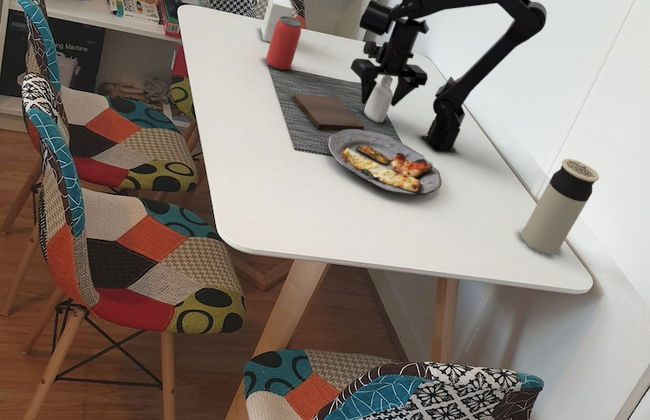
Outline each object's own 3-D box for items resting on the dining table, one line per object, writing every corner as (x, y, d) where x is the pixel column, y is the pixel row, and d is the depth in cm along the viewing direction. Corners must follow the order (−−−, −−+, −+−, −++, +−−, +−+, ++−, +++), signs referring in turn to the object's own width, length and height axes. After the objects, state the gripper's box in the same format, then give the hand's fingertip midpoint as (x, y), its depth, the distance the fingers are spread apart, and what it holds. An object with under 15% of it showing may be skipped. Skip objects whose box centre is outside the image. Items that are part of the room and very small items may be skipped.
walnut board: (362, 131, 169) (364, 126, 169) (318, 128, 163) (319, 124, 162) (335, 101, 179) (337, 97, 178) (292, 98, 173) (294, 93, 172)
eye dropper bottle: (366, 120, 175) (383, 75, 169) (362, 110, 180) (378, 65, 173) (383, 124, 176) (401, 79, 170) (379, 114, 181) (395, 69, 175)
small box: (282, 45, 200) (293, 8, 195) (262, 40, 199) (272, 3, 193) (280, 34, 207) (290, -2, 201) (260, 29, 205) (270, -7, 200)
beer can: (261, 58, 188) (273, 13, 182) (284, 60, 191) (297, 17, 185) (270, 69, 183) (283, 24, 177) (294, 72, 186) (307, 27, 180)
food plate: (452, 180, 162) (459, 167, 160) (412, 216, 143) (418, 201, 141) (357, 129, 169) (362, 115, 168) (306, 156, 151) (311, 141, 149)
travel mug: (541, 258, 145) (585, 182, 136) (513, 234, 150) (553, 159, 141) (564, 252, 150) (608, 178, 141) (536, 229, 155) (576, 156, 146)
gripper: (414, 33, 179) (392, 91, 187) (350, 24, 169) (330, 85, 177) (439, 53, 171) (415, 112, 179) (373, 45, 161) (351, 108, 169)
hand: (377, 104), depth 176 cm, fingers closed on eye dropper bottle, 8 cm apart
